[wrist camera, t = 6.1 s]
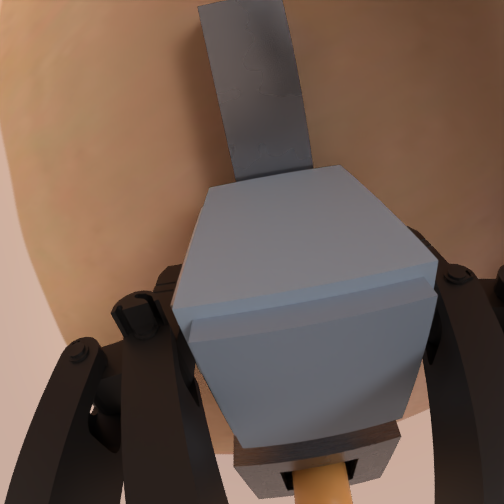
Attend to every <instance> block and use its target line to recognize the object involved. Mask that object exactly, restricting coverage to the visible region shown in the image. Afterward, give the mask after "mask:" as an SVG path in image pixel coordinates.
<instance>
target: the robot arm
mask: <svg viewBox="0 0 504 504" xmlns="http://www.w3.org/2000/svg"><path fill="white" fill-rule="evenodd" d="M202 208H203V207H201V210H200V213H199V216H198V219H197V222H196V225H195V228H194V231H193V234H192V237H191V240H190V243H189V246H188V249H187V252H186V255H185V258H184V262H183V264H180V265H174V266H168V267H167V268H166V269H165V270H164V271H163V272H162V273H161V274H160V275H159V278H158V280H157V283H156V286H155V288H154V290H153V292H152V291H138V292H134V293H131V294H129V295H127V296H125V297H124V298H122V299H121V300H119V301H118V302H117V303H116V304H115V306H114V307H113V309H112V311H111V315H112V317H113V318H114V320H115V322H116V324H117V326H118V328H119V329H120V331H121V333H122V335H123V337H124V339H123V340H122V341H119V342H116V343H113V344H110V345H107V346H104V347H101V346H100V345H99V343H98V341H97V340H95V339H94V338H92V337H84V338H79V339H77V340H75V341H73V342H72V343H71V344H69V345H68V346H67V347H66V348H65V350H64V351H63V353H62V354H61V356H60V358H59V360H58V362H57V364H56V366H55V369H54V371H53V373H52V375H51V377H50V379H49V382H48V384H47V386H46V388H45V390H44V393H43V395H42V397H41V400H40V402H39V405H38V407H37V409H36V412H35V414H34V416H33V419H32V421H31V424H30V427H29V429H28V432H27V434H26V437H25V440H24V443H23V446H22V448H21V451H20V454H19V457H18V460H17V463H16V466H15V469H14V472H13V475H12V479H11V482H10V485H9V489H8V492H7V496H6V500H5V504H120V499H121V493H122V487H123V481H124V490H125V500H126V504H229V503H228V500H227V497H226V494H225V490H224V486H223V483H222V479H221V476H220V472H219V469H218V465H217V461H216V457H215V453H214V449H213V446H212V442H211V438H210V434H209V429H208V425H207V421H206V417H205V412H204V408H203V404H202V399H201V395H200V390H199V385H198V383H197V381H196V379H195V377H194V370H195V363H196V360H195V358H194V356H193V354H192V352H191V350H190V348H189V346H188V344H187V341H186V339H185V337H184V335H183V333H182V331H181V328H180V326H179V324H178V322H177V319H176V317H175V315H174V313H173V310H172V308H173V304H174V301H175V297H176V293H177V290H178V286H179V283H180V280H181V276H182V273H183V269H184V266H185V263H186V259H187V256H188V253H189V249H190V246H191V243H192V240H193V236H194V233H195V230H196V227H197V224H198V221H199V218H200V214H201V211H202ZM407 228H408V229H409V230H410V231H411V232H412V233H413V234H414V235H415V236H416V237H417V238H418V239H419V240H420V241H421V242H422V243H423V244H424V245H425V246H426V247H427V248H428V249H429V251H430V252H431V253H432V254H433V255H434V256H435V257H436V258H437V259H438V266H437V272H436V279H435V285H434V291H435V292H436V293H437V295H438V297H437V302H436V307H435V311H434V316H433V320H432V324H431V328H430V332H429V336H428V340H427V344H426V347H425V351H424V355H423V364H424V370H425V376H426V383H427V390H428V398H429V406H430V414H431V424H432V436H433V449H434V472H435V504H504V265H503V266H501V267H500V269H499V271H498V274H497V278H496V279H477V277H476V275H475V274H474V273H473V272H472V271H471V270H470V269H468V268H466V267H464V266H461V265H458V264H449V263H448V262H447V261H446V260H445V259H444V258H443V257H442V256H441V255H440V254H439V253H438V251H437V250H436V249H435V248H434V247H433V246H431V244H430V243H429V242H428V241H427V240H425V238H424V237H423V236H422V235H421V234H420V233H419V232H418V231H416V230H414V229H412V228H410V227H408V226H407ZM196 365H197V363H196ZM197 367H198V365H197ZM198 369H199V367H198ZM199 371H200V369H199ZM200 373H201V371H200ZM201 374H202V373H201ZM92 404H93V405H94V409H93V411H92V413H91V414H90V410H91V407H92Z"/></svg>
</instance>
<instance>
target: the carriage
mask: <svg viewBox="0 0 504 504" xmlns="http://www.w3.org/2000/svg"><path fill="white" fill-rule="evenodd" d="M437 266H438V259H437V258H436V257H435V256H434V255H433V254H432V253H431V252H430V251H429V249H428V248H427V247H426V246H425V245H424V244H423V243H422V242H421V241H420V240H419V239H418V238H417V237H416V236H415V235H414V234H413V233H412V232H411V231H410V230H409V229H408V228H407V226H406V225H405V224H404V223H403V222H402V221H401V220H400V219H399V218H397V217H396V216H395V215H394V214H393V213H392V212H391V211H390V210H389V209H388V208H387V207H386V206H385V205H384V204H383V203H382V202H381V201H380V200H379V199H378V198H377V197H376V196H375V195H373V194H372V193H371V192H370V191H369V190H368V189H367V188H366V187H365V186H364V185H363V184H361V183H360V182H359V181H358V180H357V179H356V178H355V177H354V176H352V175H351V174H350V173H349V172H348V171H347V170H346V169H344V168H343V167H342V166H341V165H335V166H328V167H321V168H314V169H308V170H301V171H295V172H289V173H283V174H277V175H272V176H266V177H261V178H255V179H250V180H245V181H239V182H234V183H229V184H224V185H220V186H215V187H210V188H209V190H208V193H207V196H206V199H205V202H204V205H203V208H202V211H201V214H200V218H199V221H198V224H197V227H196V230H195V233H194V236H193V240H192V243H191V246H190V249H189V253H188V256H187V259H186V263H185V266H184V269H183V273H182V276H181V280H180V283H179V286H178V290H177V293H176V297H175V301H174V304H173V308H172V310H173V313H174V315H175V317H176V319H177V322H178V324H179V326H180V328H181V331H182V333H183V335H184V337H185V339H186V341H187V344H188V346H189V348H190V350H191V352H192V354H193V356H194V358H195V360H196V363H197V365H198V367H199V369H200V371H201V373H202V375H203V377H204V379H205V381H206V383H207V385H208V387H209V389H210V391H211V393H212V394H213V396H214V398H215V400H216V402H217V404H218V406H219V408H220V410H221V412H222V413H223V415H224V417H225V419H226V421H227V423H228V424H229V426H230V428H231V430H232V432H233V433H234V435H235V436H236V437H237V439H238V441H239V442H240V444H241V446H242V448H243V449H244V448H255V447H265V446H274V445H281V444H289V443H296V442H302V441H308V440H314V439H319V438H325V437H330V436H334V435H339V434H344V433H348V432H353V431H357V430H361V429H365V428H369V427H372V426H376V425H380V424H383V423H387V422H390V421H394V420H397V419H400V418H402V417H403V414H404V412H405V409H406V406H407V404H408V401H409V398H410V395H411V392H412V390H413V387H414V384H415V381H416V378H417V374H418V371H419V368H420V365H421V361H422V358H423V355H424V351H425V347H426V344H427V340H428V336H429V332H430V328H431V324H432V320H433V316H434V311H435V307H436V302H437V297H438V295H437V293H436V292H435V291H434V285H435V279H436V272H437Z"/></svg>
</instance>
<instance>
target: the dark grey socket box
mask: <svg viewBox="0 0 504 504" xmlns="http://www.w3.org/2000/svg"><path fill="white" fill-rule="evenodd" d="M400 437H401V434H400V432H399V429H398V426H397V423H396V420H394V421H390V422H387V423H383V424H380V425H376V426H372V427H369V428H365V429H361V430H357V431H353V432H348V433H344V434H339V435H334V436H330V437H325V438H319V439H314V440H308V441H302V442H296V443H289V444H281V445H274V446H265V447H255V448H244V449H243V448H242V446H241V444H240V442H239V441H238V439H237V437H236V436H235V435H234V468H235V469H236V471H237V472H238V473H239V475H240V476H241V477H242V478H243V480H244V481H245V482H246V484H247V485H248V486H249V487H250V489H251V490H252V491H253V492H254V493H255V495H256V496H257V497H258V498H259V499H264V498H275V497H283V496H293V495H294V487H293V477H292V471H295V470H302V469H308V468H314V467H320V466H325V465H330V464H335V463H340V462H345V465H346V470H347V475H348V481H349V485H353V484H357V483H362V482H366V481H369V480H373V479H376V478H380V477H381V475H382V473H383V471H384V470H385V468H386V466H387V464H388V462H389V460H390V458H391V456H392V454H393V452H394V450H395V448H396V446H397V444H398V442H399V440H400Z"/></svg>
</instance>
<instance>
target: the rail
mask: <svg viewBox="0 0 504 504" xmlns="http://www.w3.org/2000/svg"><path fill="white" fill-rule="evenodd" d="M198 12H199V16H200V21H201V25H202V30H203V34H204V39H205V43H206V48H207V52H208V57H209V61H210V66H211V71H212V75H213V80H214V84H215V89H216V93H217V98H218V102H219V107H220V111H221V116H222V120H223V125H224V129H225V134H226V138H227V143H228V148H229V152H230V157H231V161H232V166H233V170H234V175H235V179H236V182H239V181H245V180H250V179H255V178H261V177H266V176H272V175H277V174H283V173H289V172H295V171H301V170H308V169H313V162H312V155H311V148H310V141H309V134H308V128H307V122H306V115H305V109H304V103H303V98H302V92H301V86H300V81H299V76H298V70H297V65H296V60H295V55H294V50H293V45H292V41H291V36H290V31H289V27H288V22H287V18H286V14H285V9H284V5H283V1H282V0H226V1H220V2H216V3H211V4H206V5H202V6H198Z"/></svg>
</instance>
